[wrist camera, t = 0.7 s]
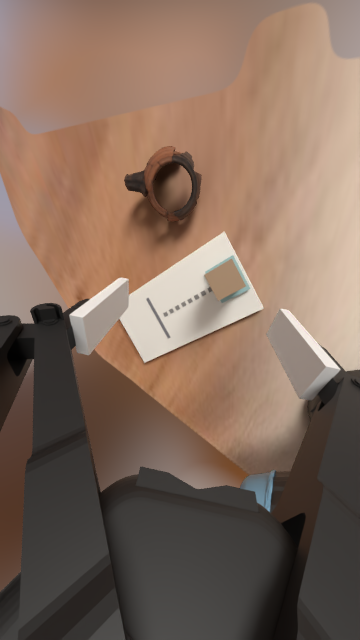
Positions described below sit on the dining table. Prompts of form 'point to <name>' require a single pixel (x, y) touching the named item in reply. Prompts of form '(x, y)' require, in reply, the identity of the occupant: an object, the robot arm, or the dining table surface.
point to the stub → (226, 279)
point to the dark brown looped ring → (146, 178)
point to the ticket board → (184, 303)
